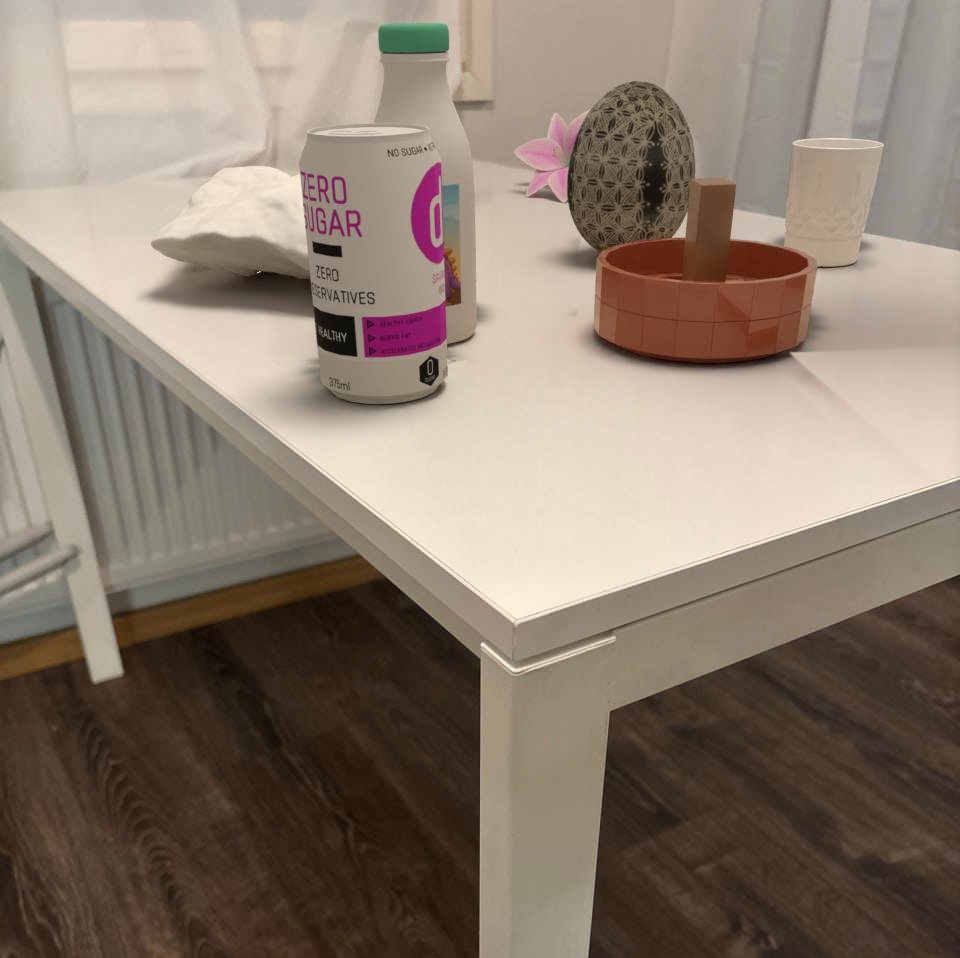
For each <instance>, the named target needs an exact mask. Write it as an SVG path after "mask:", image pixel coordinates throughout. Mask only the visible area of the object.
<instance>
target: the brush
mask: <svg viewBox="0 0 960 958" xmlns="http://www.w3.org/2000/svg"><path fill="white" fill-rule="evenodd" d="M736 191H737V184H736V183H735V182H733V181H730V180H729V179H727V178H725V177H701V178H700V177H699V178H697V177H695V178H694V179H691V180H690V191H689V202H688V211H687V214H686V225H685V226H686V227H685V236H684V238H685V247H684V258H683V269H682V281H706V282H734V281H744V280H743V279H737V280H726V273H727V264H728V255H729V246H730V239H731V235H732V227H733V219H734V210H735V200H736Z"/></svg>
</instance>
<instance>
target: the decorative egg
mask: <svg viewBox="0 0 960 958" xmlns="http://www.w3.org/2000/svg"><path fill="white" fill-rule="evenodd" d="M590 109H591V110H590ZM590 109H589V110H590V111H589V112H588V114H587V116H586V117H585V119H584V121H583V123H582V125H581V127H580V129H579V131H578V134H577V136H576V139H575V142H574V145H573V149H572V153H571V157H570V162H569V168H568V176H567V197H568V199H567V203H568V204H567V205H568V209H569V212H570V213H569V214H570V216H571V219H572V222H573V223H574V225H575V228H576V230H577V231H578V233H579V234H580V236H581V237H582V239H583V240H584V241H585V242H586V243H587V244H588V245H589V246H590V247H591V248H592V249H594V250H595V251H596V252H598V253H599V254H600V253H601V252H602V251H603V250H606V249H608V248H611V247H613V246H615V245H620V244H625V243H630V242H634V241H641V240H651V239H661V238H674V235H676V233H677V232H678V230H679V229H680V228H681V226H682V224H683V222H684V221H685V219H686V218H685V217H687V214H688V202H689V191H690V180H691V179H694V178H696V157H695V147H694V141H693V136H692V133H691V129H690V126H689V124H688V122H687V119H686V117H685V115H684V113H683V111H682V110H681V108H680V106H679V105H678V104H677V102H676V101H675V100H674V99H673V97H671V95H670V94H669V93H668V92H667V91H666V90H664V89H663V88H662V87H660V86H658V85H656V84H655V83H651V82H647V81H638V80H631V81H627V82H623V83H621V84H618V85H617V86H615V87H613V88H612V89H610V90H608V91H607V92H606V93H605V94H603V95H602V96H601V97H600V98H599V99H598V100H597V101H596V102H595V103H594V105H593V106H591V108H590Z"/></svg>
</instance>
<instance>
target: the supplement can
mask: <svg viewBox="0 0 960 958" xmlns="http://www.w3.org/2000/svg"><path fill="white" fill-rule="evenodd" d="M306 135H307V139H306V141H305V143H304V147H303V149H302V152H301V155H300V156H299V157H300V158H299V161H298V167H299V174H300V178H301V188H302V198H303V208H304V218H305V228H306V238H307V248H308V258H309V268H310V278H311V279H310V288H311V297H312V308H313V316H314V326H315V327H314V328H315V337H316V338H315V339H316V348H317V357H318V358H317V359H318V367H319V376H320V383H321V384H323V386H325V387H326V388H327V389H329V390H330V392H331V393H332V394H333V395H334V396H335V397H336V398H338V399H342V400H345V401H348V402H351V403H359V404H366V405H390V404H391V405H392V404H398V403H406V402H410V401H415V400H419V399H423V398H425V397H427V396H429V395H431V394H433V393H435V392H436V390H437V389H438V388H439V387H440V384H442V383H443V382H444V381H445V380H446V379H447V377H449V367H448V366H449V365H448V364H449V363H448V344H447V332H446V301H445V269H444V238H443V206H442V175H441V157H440V155H439V153H438V151H437V149H436V147H435V145H434V143H433V141H432V139H431V137H430V135H429V128H428V127H426V126H421V125H413V124H394V123H374V122H373V123H372V122H371V123H370V122H369V123H350V124H349V123H347V124H337V125H336V124H335V125H326V126H320V127H313V128H310V129H307V131H306Z"/></svg>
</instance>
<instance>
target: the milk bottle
mask: <svg viewBox="0 0 960 958" xmlns="http://www.w3.org/2000/svg"><path fill="white" fill-rule="evenodd" d="M377 33H378V34H377V35H378V39H377V41H378V49H379V50H378V51H379V52H380V59H379V62H380V63H381V64H382V67H383V84H382V89H381V94H380V95H381V96H380V99H379V105H378V107H377V111H376V114H375V117H374V120H373V123H394V124H413V125H421V126H426V127H428V128H429V135H430V137H431V139H432V141H433V143H434V145H435V147H436V149H437V151H438V153H439V155H440V157H441V175H442V206H443V238H444V269H445V301H446V332H447V345H449V344H454V343H458V342H462V341H464V340H467V339H469V338H470V337H472V336H473V335H474V333H475V331H476V328H477V246H476V245H477V243H476V241H477V240H476V239H477V237H476V202H475V201H476V197H475V196H476V195H475V178H474V177H475V175H474V164H473V157H472V156H473V155H472V152H471V146H470V143H469V139H468V136H467V133H466V131H465V128H464V126H463V124H462V121H461V119H460V116H459V114H458V111H457V109H456V106H455V103H454V101H453V98H452V94H451V90H450V86H449V82H448V76H447V64H448V62H450V58H449V49H450V32H449V26H448V25H447V24H445V23H441V22H402V23H401V22H399V23H398V22H397V23H385V24H381V25H380V26H378V31H377Z"/></svg>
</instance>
